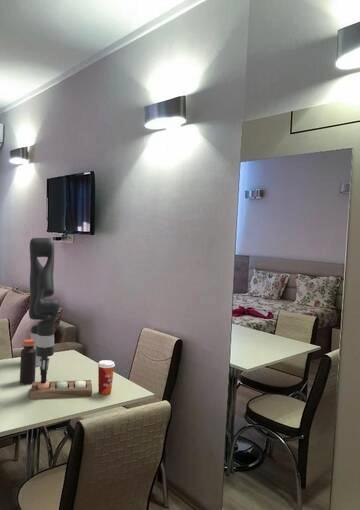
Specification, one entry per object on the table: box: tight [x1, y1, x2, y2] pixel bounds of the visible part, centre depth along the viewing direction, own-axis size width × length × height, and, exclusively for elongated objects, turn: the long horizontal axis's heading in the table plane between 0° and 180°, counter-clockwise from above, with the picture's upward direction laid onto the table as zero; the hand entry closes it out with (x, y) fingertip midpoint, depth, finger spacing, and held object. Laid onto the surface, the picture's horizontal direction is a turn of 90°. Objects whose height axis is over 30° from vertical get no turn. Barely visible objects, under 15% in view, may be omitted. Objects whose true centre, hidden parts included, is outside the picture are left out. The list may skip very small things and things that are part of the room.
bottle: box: [19, 338, 37, 385], centre depth 192 cm, size 7×7×20 cm
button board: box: [29, 379, 93, 400], centre depth 183 cm, size 12×26×3 cm, turn 105°
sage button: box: [56, 380, 68, 389], centre depth 183 cm, size 5×5×4 cm
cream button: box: [75, 379, 86, 388], centre depth 185 cm, size 5×5×4 cm
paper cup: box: [97, 359, 116, 396], centre depth 186 cm, size 8×8×14 cm
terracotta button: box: [37, 380, 49, 389], centre depth 181 cm, size 5×5×4 cm
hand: (43, 382), depth 181 cm, fingers closed
